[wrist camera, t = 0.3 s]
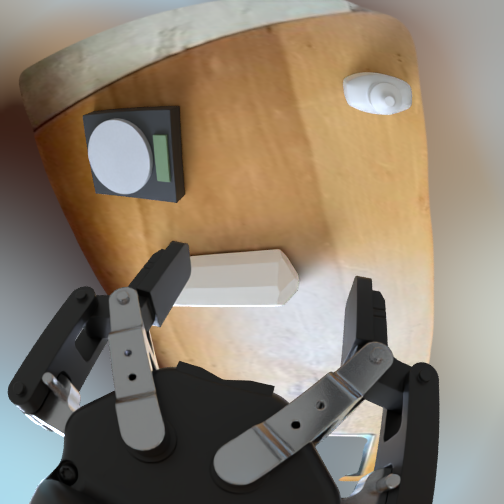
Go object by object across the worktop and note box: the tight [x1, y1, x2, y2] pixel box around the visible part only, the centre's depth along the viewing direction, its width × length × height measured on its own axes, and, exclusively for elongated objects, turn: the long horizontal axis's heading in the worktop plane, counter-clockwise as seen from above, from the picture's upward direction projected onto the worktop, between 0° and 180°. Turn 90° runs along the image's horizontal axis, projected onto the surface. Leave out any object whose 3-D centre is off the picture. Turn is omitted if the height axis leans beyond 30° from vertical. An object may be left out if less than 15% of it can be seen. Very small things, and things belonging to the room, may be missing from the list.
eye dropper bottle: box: [343, 72, 412, 115], centre depth 21 cm, size 4×6×12 cm
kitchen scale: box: [83, 106, 185, 203], centre depth 36 cm, size 12×14×3 cm
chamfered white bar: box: [173, 249, 299, 307], centre depth 43 cm, size 7×7×24 cm
